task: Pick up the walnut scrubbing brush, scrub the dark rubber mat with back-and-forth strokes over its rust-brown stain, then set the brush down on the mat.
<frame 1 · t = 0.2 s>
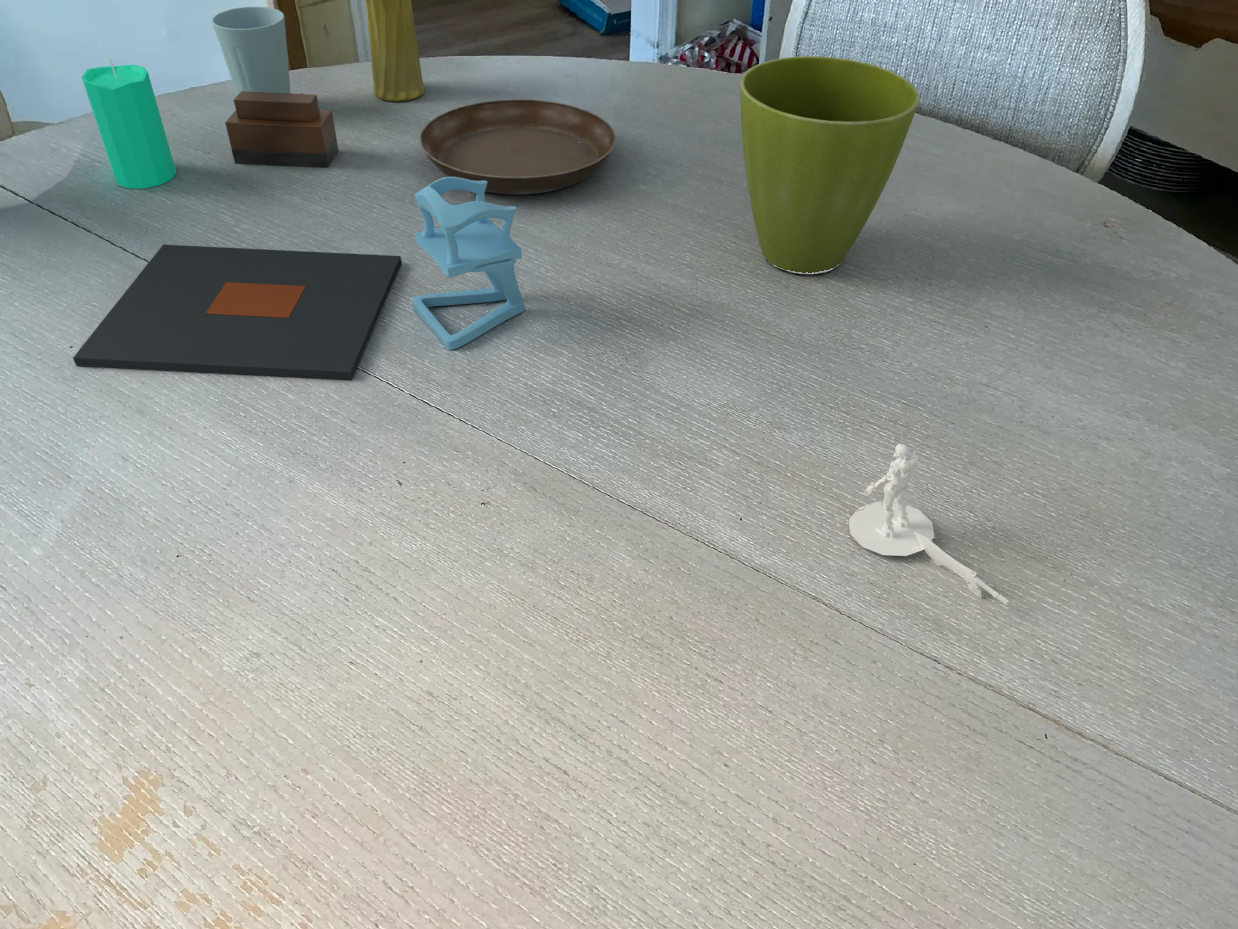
plant saucer: (519, 164, 109), on the table
cup: (267, 111, 118), on the table
figurine: (926, 561, 66), on the table
brush: (287, 156, 109), on the table
candle: (146, 177, 105), on the table
flower pot: (801, 257, 96), on the table
chair: (474, 317, 87), on the table
mat: (251, 310, 86), on the table
vase: (399, 94, 123), on the table
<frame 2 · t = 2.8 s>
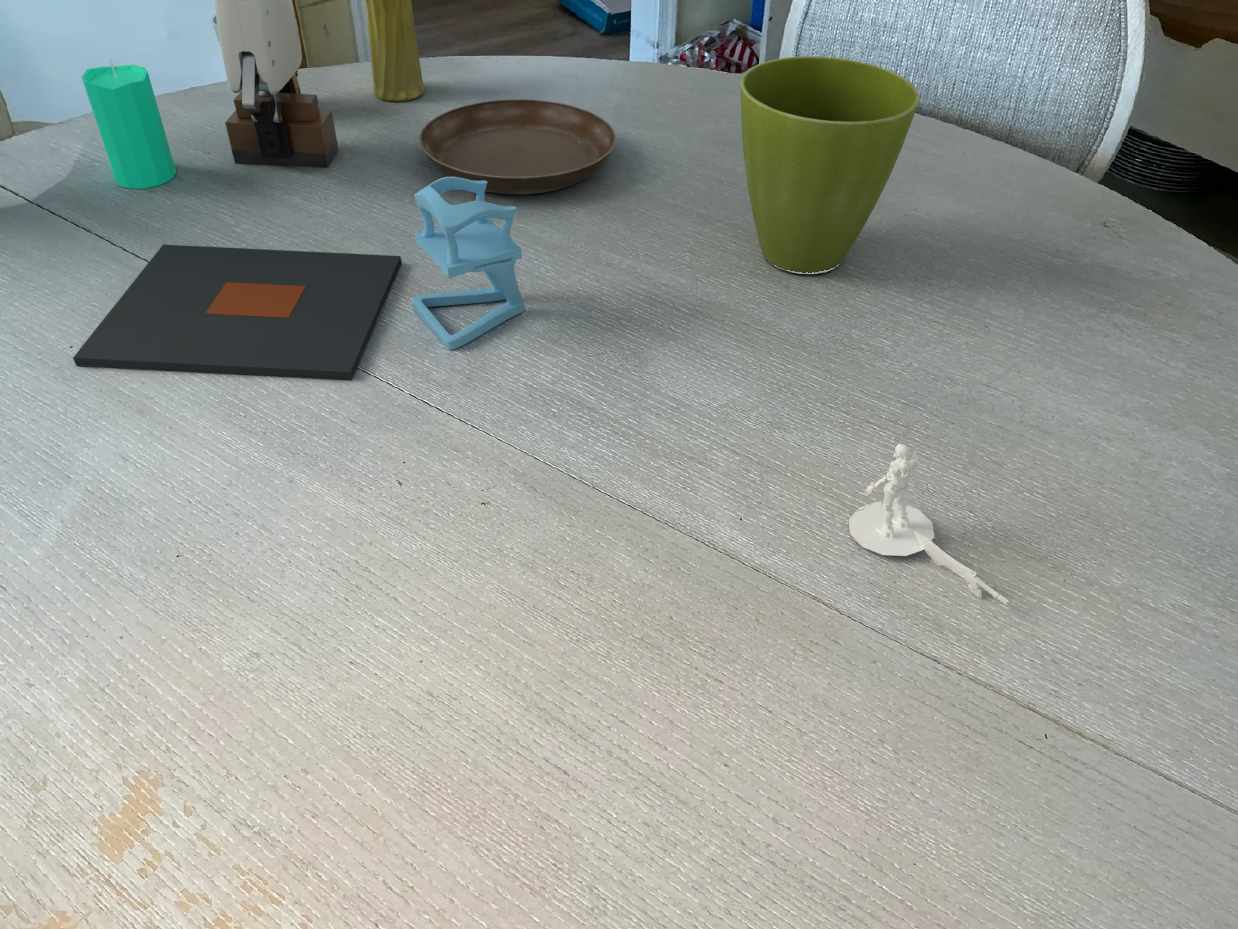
hand: (284, 144, 108), 1 cm above the table, tool pointing down, fingers closed on brush, 4 cm apart
brush: (287, 156, 109), on the table, touching gripper
everything else where it was.
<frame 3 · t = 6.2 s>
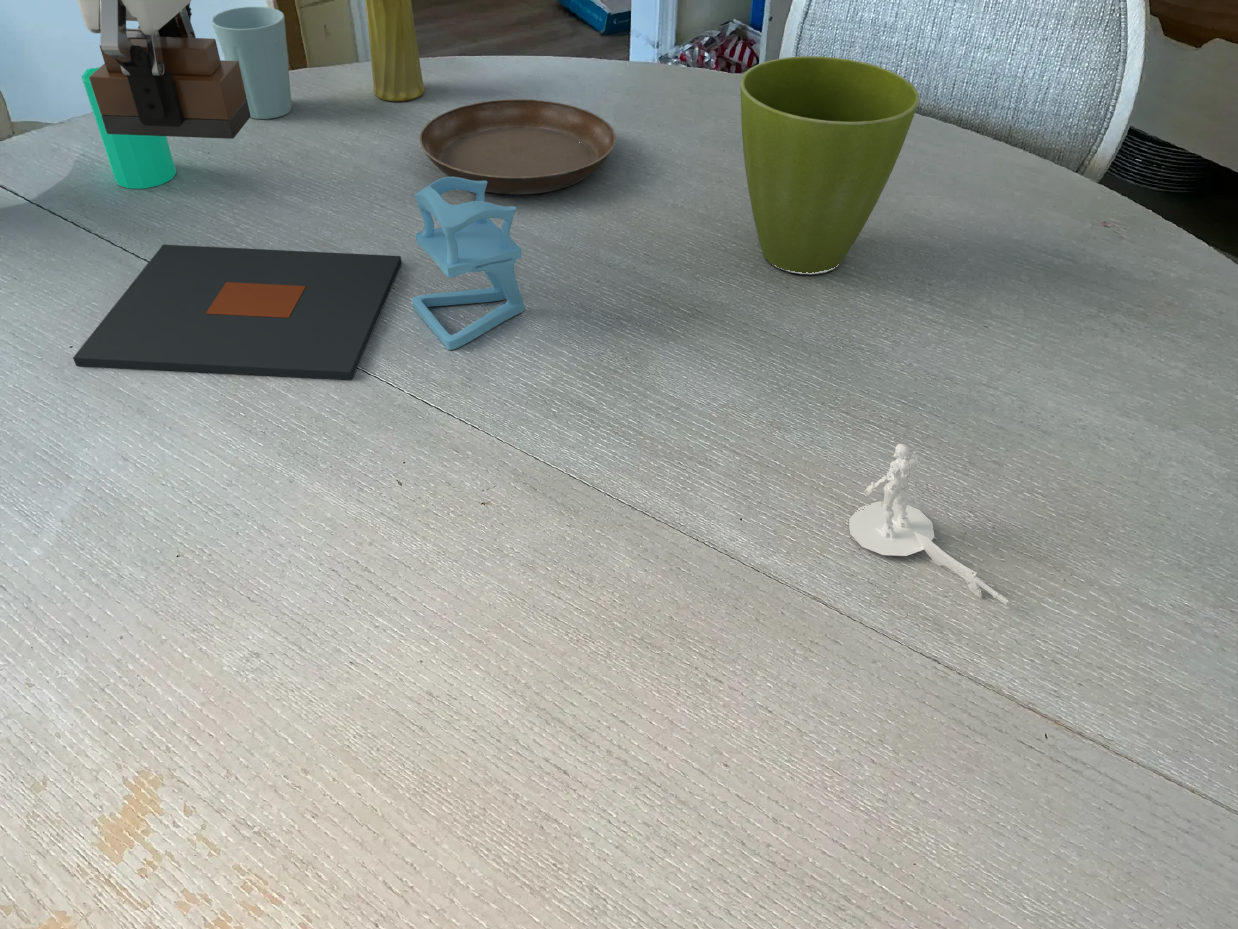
hand: (175, 108, 80), 15 cm above the table, tool pointing down, fingers closed on brush, 4 cm apart
brush: (180, 125, 81), point 14 cm above the table, touching gripper
everything else where it was.
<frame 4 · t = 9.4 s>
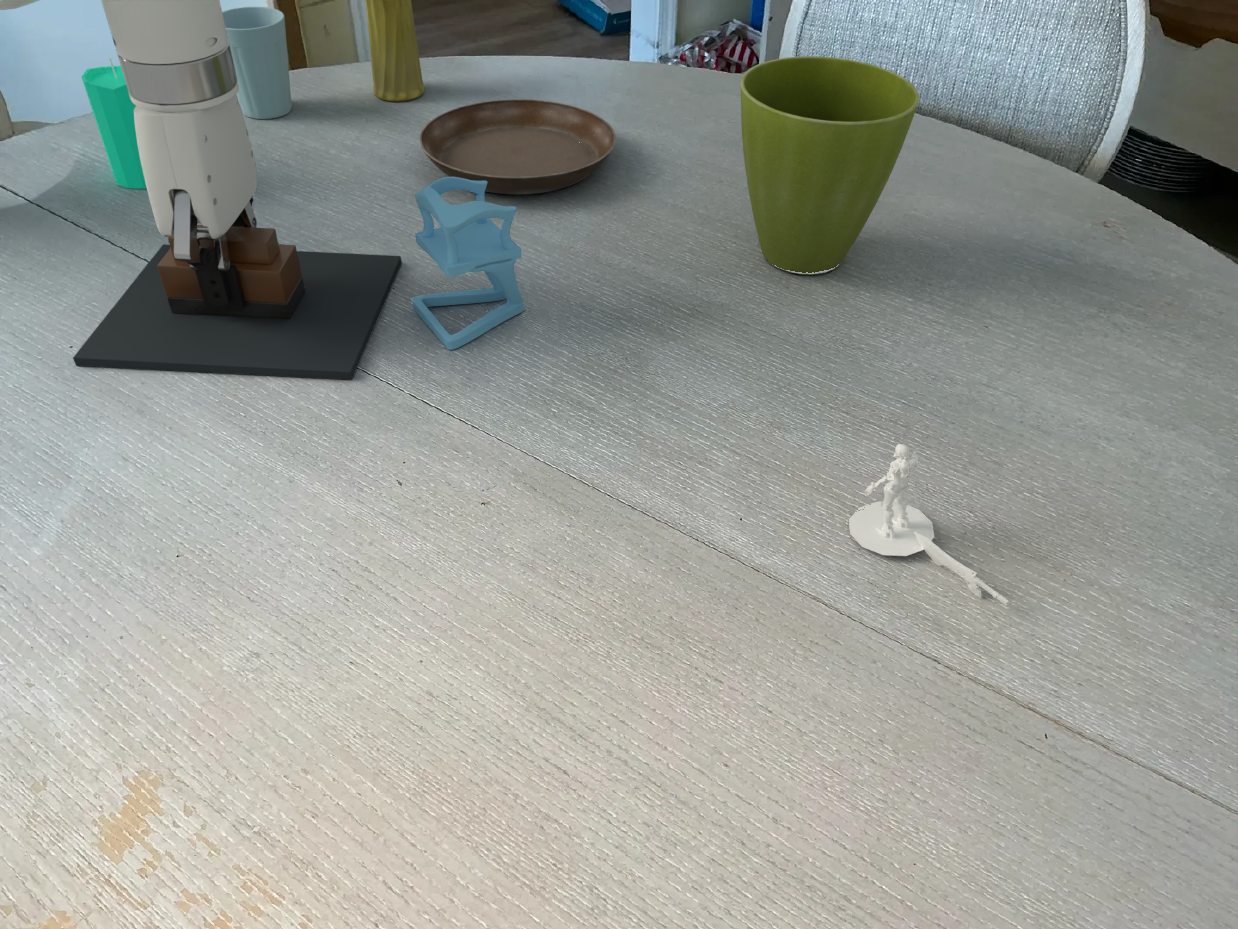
hand: (236, 289, 85), 2 cm above the table, tool pointing down, fingers closed on brush, 4 cm apart
brush: (239, 301, 86), point 1 cm above the table, touching gripper
everything else where it was.
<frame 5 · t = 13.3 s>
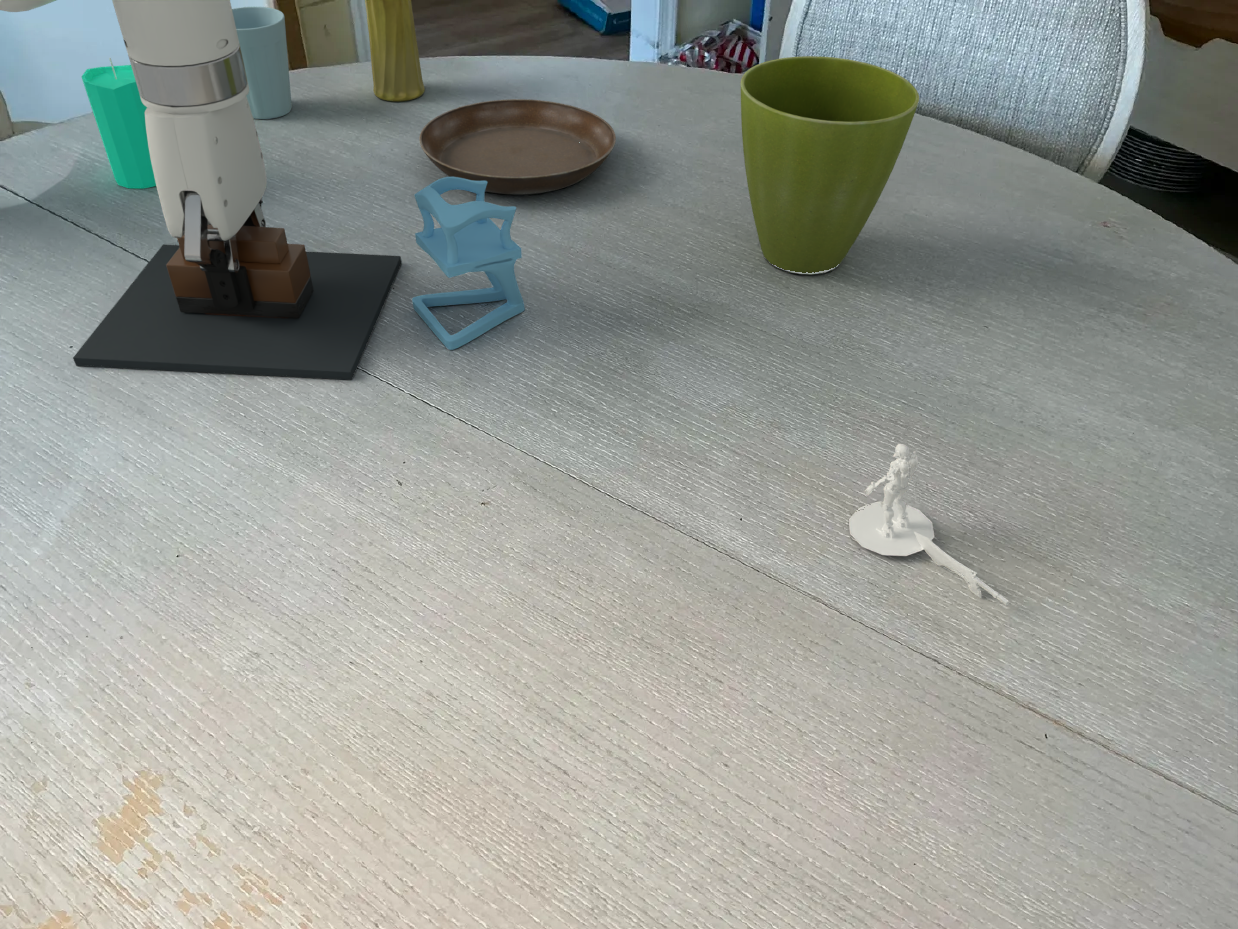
hand: (245, 290, 85), 2 cm above the table, tool pointing down, fingers closed on brush, 4 cm apart
brush: (248, 301, 86), point 1 cm above the table, touching gripper
everything else where it was.
when the fingers open (2 cm above the table, at t = 16.3 s): brush stays where it is, resting on mat.
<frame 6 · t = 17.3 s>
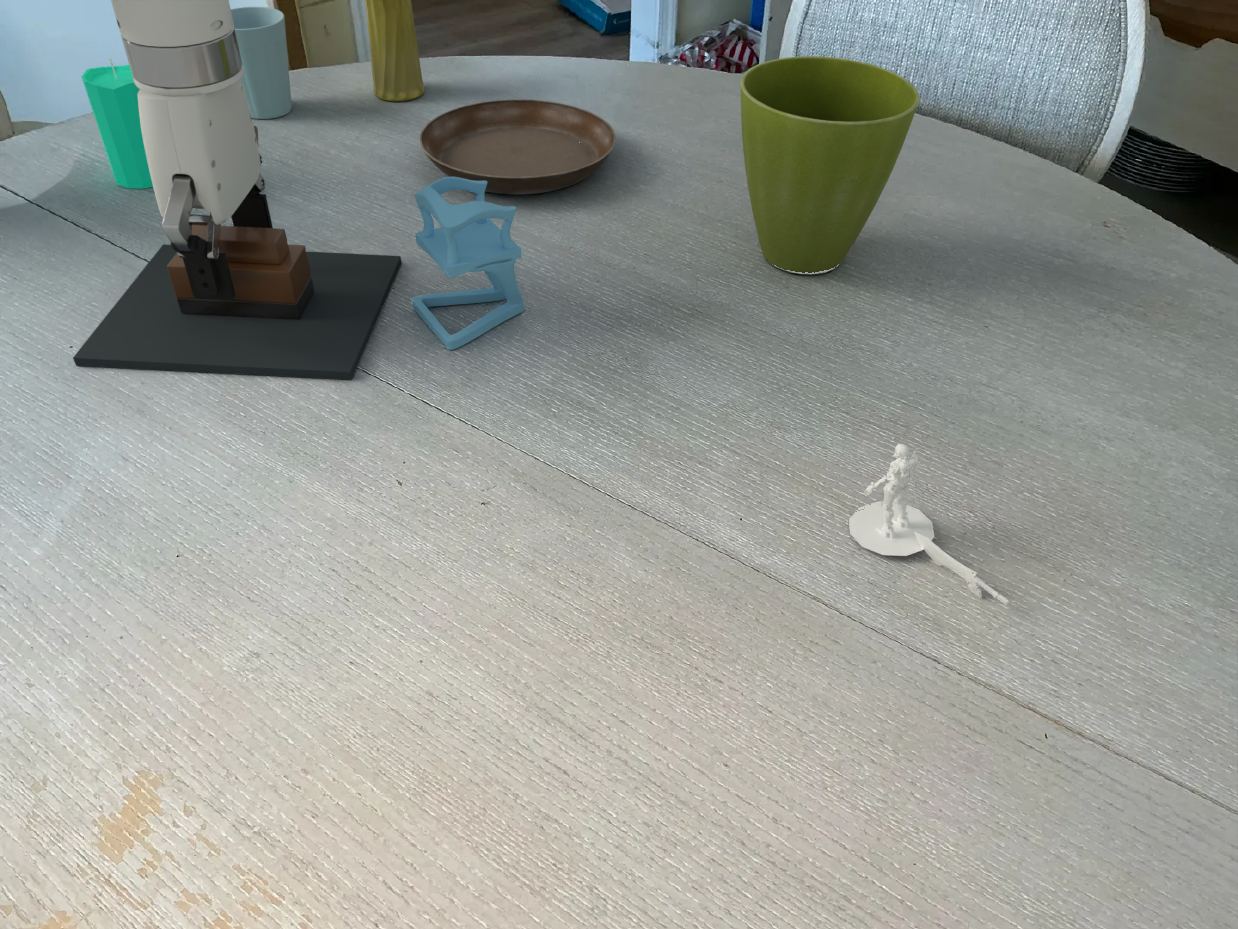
hand: (236, 266, 83), 4 cm above the table, tool pointing down, fingers open, 9 cm apart
brush: (249, 302, 86), point 1 cm above the table, touching mat
everything else where it was.
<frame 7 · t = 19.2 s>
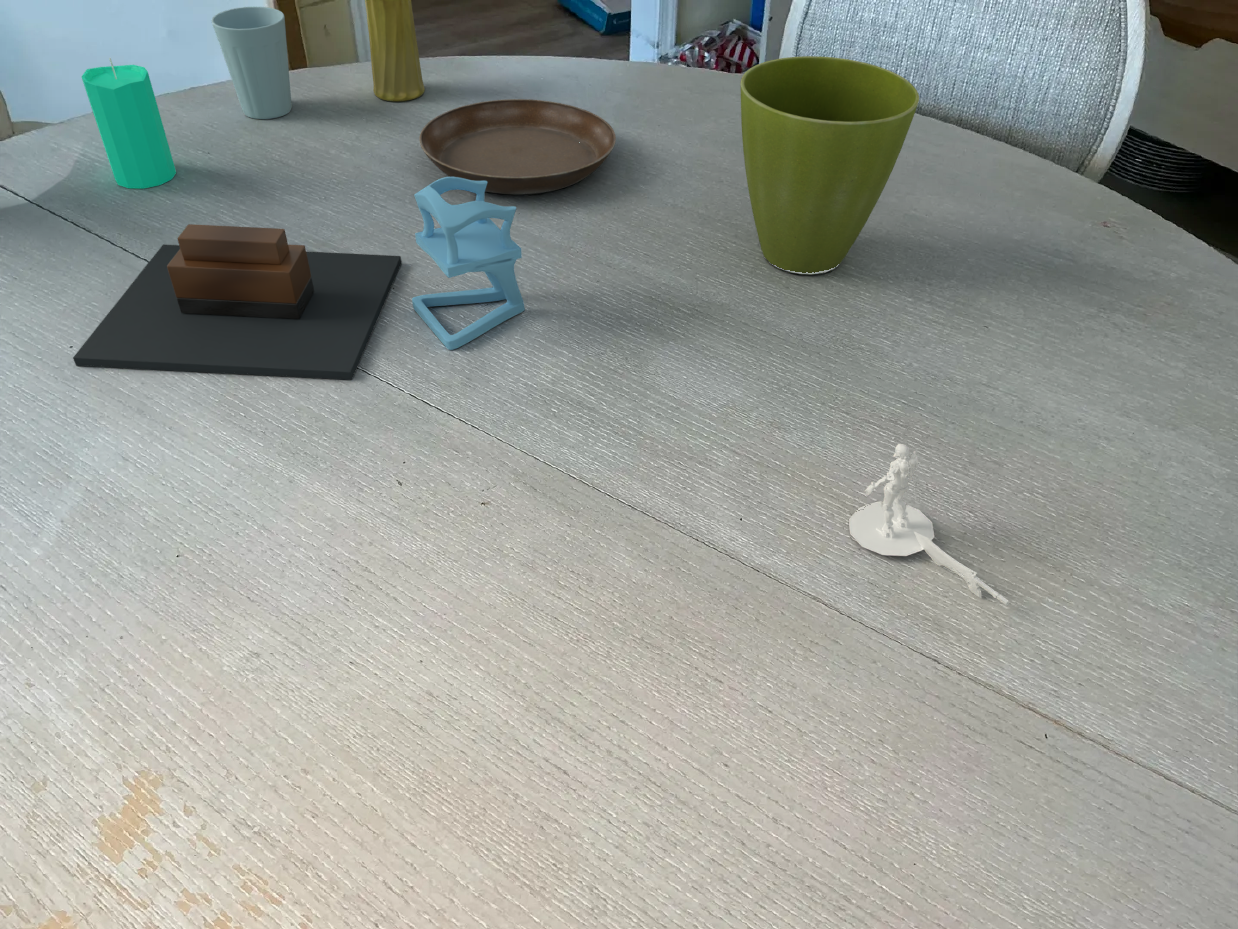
nothing on the table moved.
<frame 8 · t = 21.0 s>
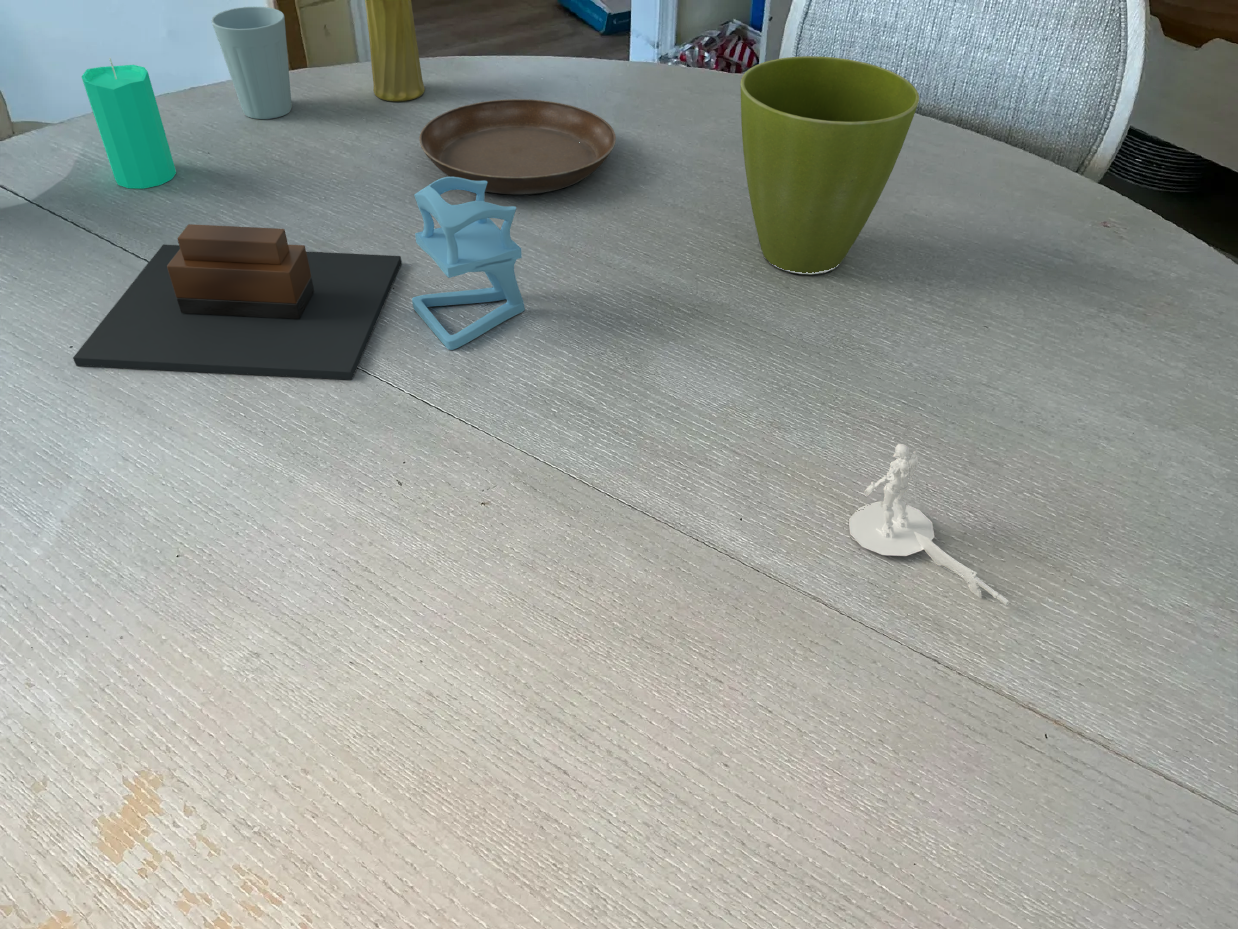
nothing on the table moved.
at the end: brush inside the target area on the mat (0.0 cm from its centre), point 0.8 cm above the mat's base; brush tilted 0°; the gripper is holding nothing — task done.
